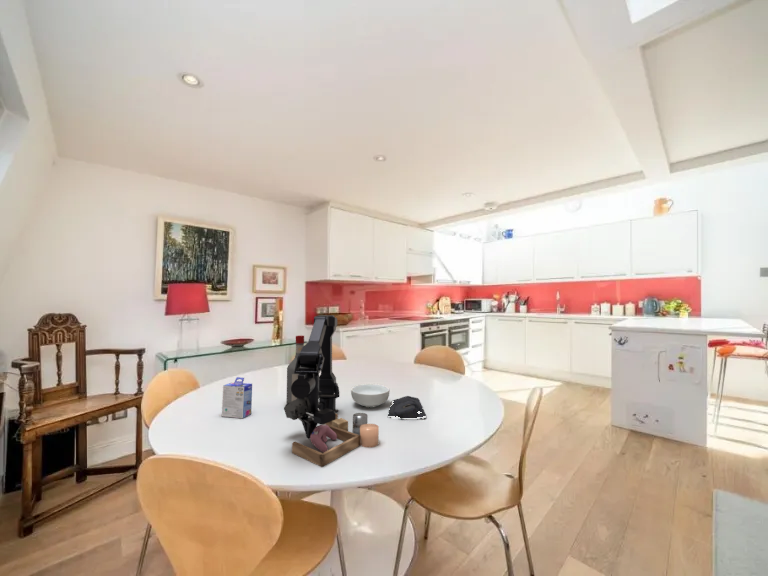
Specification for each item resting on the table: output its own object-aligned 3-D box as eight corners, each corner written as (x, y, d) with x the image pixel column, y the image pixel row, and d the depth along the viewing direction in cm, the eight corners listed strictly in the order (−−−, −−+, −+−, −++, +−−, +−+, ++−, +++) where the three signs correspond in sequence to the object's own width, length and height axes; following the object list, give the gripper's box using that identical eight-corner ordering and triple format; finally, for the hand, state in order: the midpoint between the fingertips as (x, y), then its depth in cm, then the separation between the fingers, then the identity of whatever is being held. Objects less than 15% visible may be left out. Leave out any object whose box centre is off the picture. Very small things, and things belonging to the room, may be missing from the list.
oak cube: (341, 429, 109) (341, 417, 109) (348, 432, 106) (348, 421, 106) (331, 432, 106) (331, 420, 106) (338, 436, 103) (338, 424, 103)
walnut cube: (328, 423, 114) (328, 412, 115) (337, 424, 113) (337, 413, 113) (322, 427, 111) (322, 415, 111) (331, 428, 109) (331, 417, 109)
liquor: (313, 405, 134) (314, 336, 136) (293, 409, 128) (294, 337, 130) (303, 400, 141) (304, 334, 143) (284, 404, 135) (285, 335, 137)
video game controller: (327, 443, 101) (318, 422, 102) (339, 437, 101) (330, 417, 101) (314, 457, 92) (305, 435, 92) (327, 452, 91) (318, 429, 92)
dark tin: (355, 429, 108) (355, 412, 109) (368, 431, 107) (369, 413, 108) (350, 434, 103) (351, 416, 104) (364, 436, 102) (365, 418, 103)
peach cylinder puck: (368, 437, 102) (368, 422, 103) (382, 442, 99) (382, 426, 99) (355, 443, 98) (356, 427, 98) (370, 449, 94) (370, 432, 94)
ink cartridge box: (252, 413, 124) (253, 377, 124) (243, 418, 118) (244, 380, 119) (230, 412, 125) (231, 376, 126) (221, 417, 120) (222, 379, 121)
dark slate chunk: (423, 403, 139) (423, 392, 139) (426, 422, 117) (426, 409, 117) (389, 402, 140) (389, 391, 140) (386, 420, 118) (386, 408, 118)
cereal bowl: (359, 413, 124) (360, 396, 124) (345, 402, 139) (345, 386, 139) (396, 407, 132) (396, 390, 132) (379, 396, 147) (379, 381, 147)
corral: (331, 434, 104) (331, 425, 104) (360, 445, 96) (360, 435, 97) (292, 452, 91) (292, 442, 92) (321, 466, 84) (322, 455, 84)
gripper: (271, 389, 99) (269, 439, 98) (308, 400, 88) (307, 457, 87) (299, 382, 108) (298, 427, 107) (337, 392, 96) (336, 442, 96)
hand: (309, 438), depth 99 cm, fingers closed
